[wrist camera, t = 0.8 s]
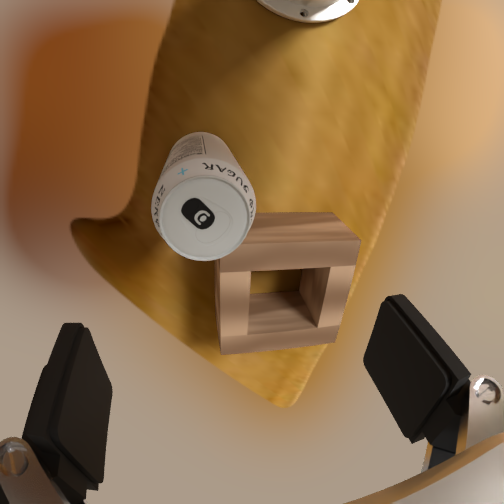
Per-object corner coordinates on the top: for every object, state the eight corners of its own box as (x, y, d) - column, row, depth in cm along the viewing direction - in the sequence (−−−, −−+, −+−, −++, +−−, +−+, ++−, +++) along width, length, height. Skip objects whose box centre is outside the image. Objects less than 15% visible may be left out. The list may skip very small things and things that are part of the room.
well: (214, 213, 32) (220, 244, 26) (332, 212, 34) (361, 240, 28) (215, 313, 38) (221, 354, 32) (315, 306, 40) (334, 342, 34)
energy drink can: (198, 202, 31) (204, 288, 18) (155, 161, 28) (124, 222, 15) (243, 162, 30) (284, 221, 17) (201, 117, 27) (207, 138, 14)
